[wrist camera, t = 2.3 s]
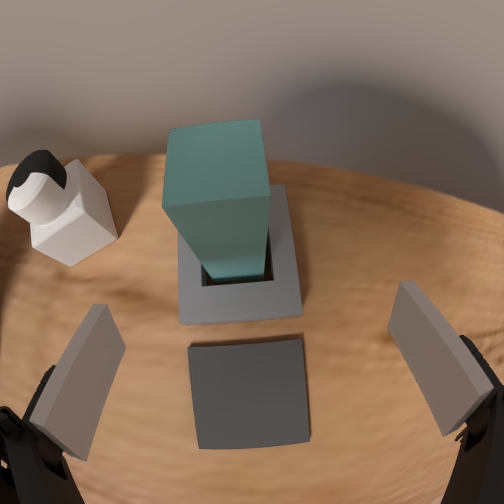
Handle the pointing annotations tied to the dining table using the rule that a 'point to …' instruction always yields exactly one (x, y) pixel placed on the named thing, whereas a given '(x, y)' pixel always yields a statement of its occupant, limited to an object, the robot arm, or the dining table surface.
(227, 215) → the plug
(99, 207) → the medicine bottle
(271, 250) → the socket block
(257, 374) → the mat
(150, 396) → the dining table surface
